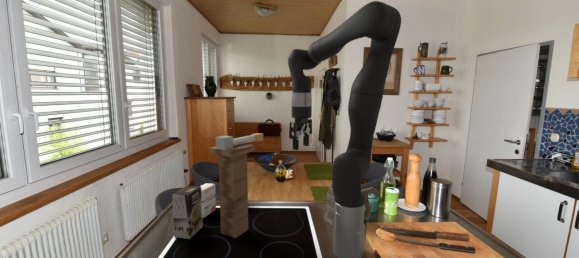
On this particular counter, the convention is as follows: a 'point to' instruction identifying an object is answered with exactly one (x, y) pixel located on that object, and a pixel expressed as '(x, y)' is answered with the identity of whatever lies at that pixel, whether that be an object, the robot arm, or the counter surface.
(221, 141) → the hammer
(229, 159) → the stand
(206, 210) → the ink box
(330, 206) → the tankard
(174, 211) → the coffee box
